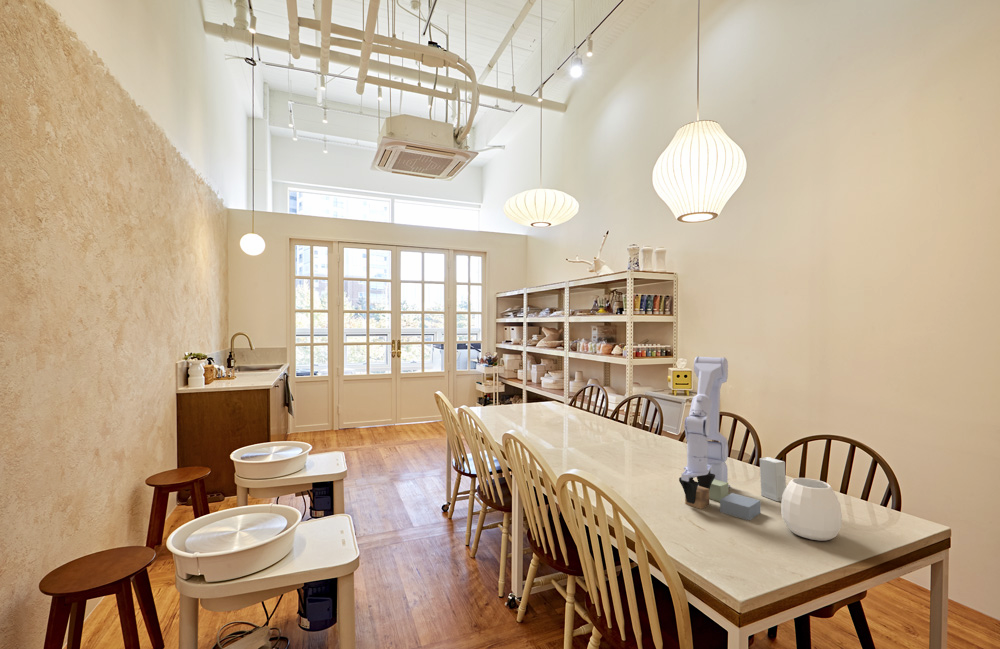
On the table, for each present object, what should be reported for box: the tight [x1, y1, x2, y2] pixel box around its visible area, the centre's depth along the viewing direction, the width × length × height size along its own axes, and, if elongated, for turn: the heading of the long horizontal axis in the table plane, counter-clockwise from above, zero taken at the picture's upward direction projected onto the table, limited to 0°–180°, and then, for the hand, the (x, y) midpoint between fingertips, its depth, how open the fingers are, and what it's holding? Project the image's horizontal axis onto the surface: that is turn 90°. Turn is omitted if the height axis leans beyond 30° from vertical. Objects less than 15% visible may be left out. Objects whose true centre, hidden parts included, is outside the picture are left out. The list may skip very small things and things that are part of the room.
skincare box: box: [759, 456, 787, 502], centre depth 147 cm, size 6×4×12 cm
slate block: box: [719, 492, 761, 522], centre depth 136 cm, size 8×8×4 cm
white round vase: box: [780, 477, 843, 542], centre depth 122 cm, size 13×13×14 cm
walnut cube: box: [684, 486, 710, 510], centre depth 142 cm, size 5×5×5 cm
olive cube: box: [709, 479, 730, 502], centre depth 147 cm, size 5×5×5 cm
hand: (697, 499), depth 142 cm, fingers open, 7 cm apart
